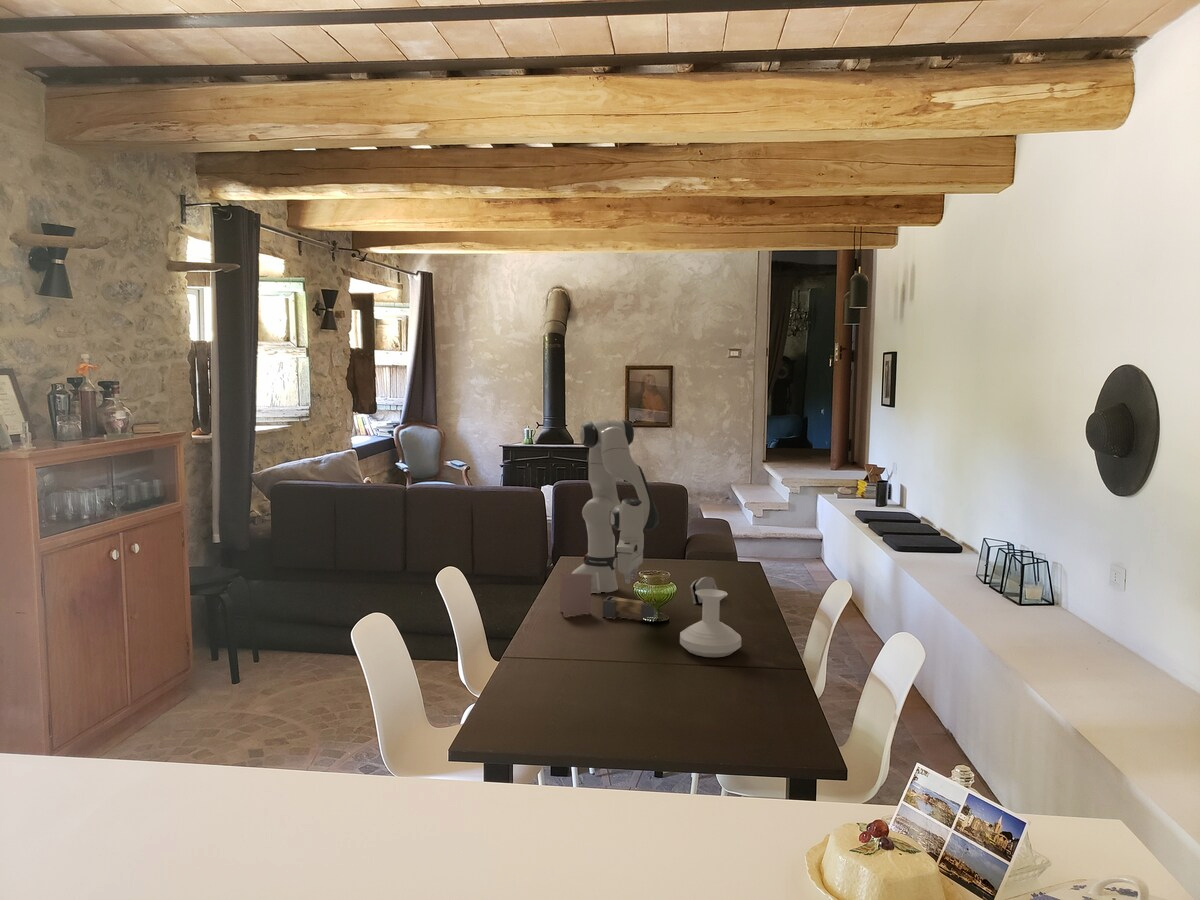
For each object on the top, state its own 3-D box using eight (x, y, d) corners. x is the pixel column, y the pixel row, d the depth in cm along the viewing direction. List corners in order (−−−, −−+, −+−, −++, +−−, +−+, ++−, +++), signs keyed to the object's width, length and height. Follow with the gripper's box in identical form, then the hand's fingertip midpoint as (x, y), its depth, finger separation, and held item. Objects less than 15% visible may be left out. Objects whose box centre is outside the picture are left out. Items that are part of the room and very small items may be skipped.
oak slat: (610, 610, 303) (610, 599, 302) (613, 607, 306) (613, 597, 305) (648, 615, 297) (648, 604, 296) (651, 612, 300) (651, 602, 300)
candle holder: (735, 665, 253) (737, 604, 252) (672, 657, 260) (673, 597, 258) (745, 645, 272) (747, 588, 270) (686, 638, 279) (687, 583, 277)
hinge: (705, 606, 319) (697, 581, 320) (694, 608, 321) (687, 583, 322) (722, 596, 333) (715, 572, 334) (712, 598, 335) (705, 575, 336)
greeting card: (590, 613, 307) (591, 573, 306) (588, 618, 300) (588, 578, 299) (560, 611, 308) (560, 572, 307) (557, 617, 301) (557, 577, 300)
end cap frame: (602, 617, 301) (603, 600, 301) (608, 613, 308) (608, 596, 307) (653, 623, 295) (653, 605, 295) (658, 618, 302) (658, 601, 301)
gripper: (631, 537, 310) (630, 573, 311) (614, 548, 290) (614, 586, 292) (647, 539, 308) (646, 575, 309) (632, 549, 288) (631, 588, 290)
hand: (630, 580), depth 300 cm, fingers open, 6 cm apart
